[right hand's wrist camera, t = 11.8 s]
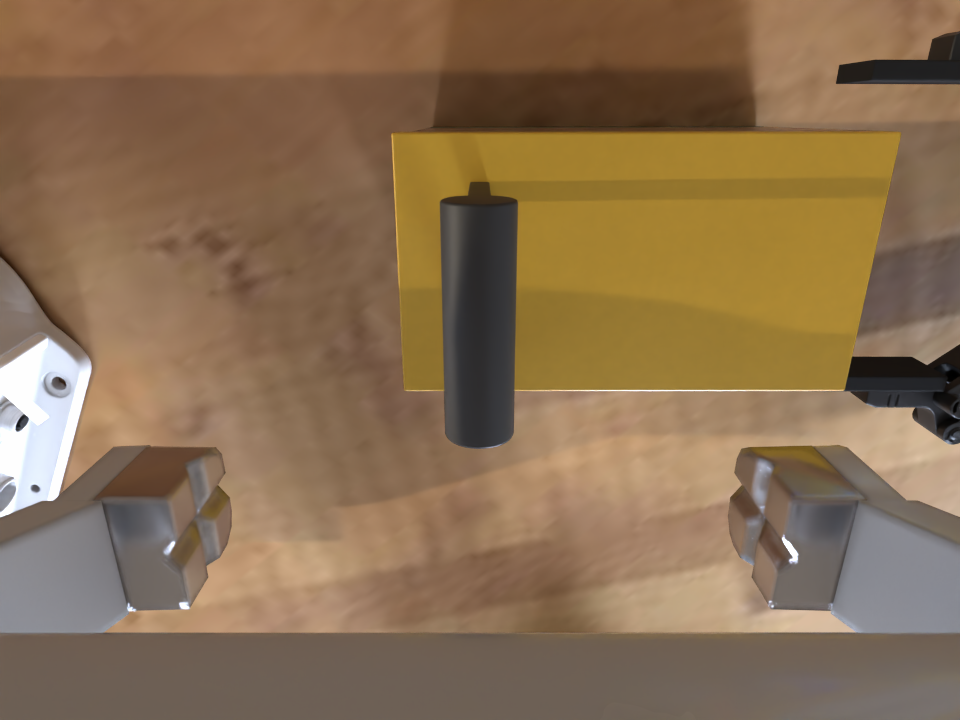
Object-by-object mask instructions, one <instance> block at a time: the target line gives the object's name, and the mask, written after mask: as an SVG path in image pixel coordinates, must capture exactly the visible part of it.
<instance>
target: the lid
mask: <svg viewBox="0 0 960 720" xmlns="http://www.w3.org/2000/svg"><path fill="white" fill-rule="evenodd" d="M391 136H392V156H393V177H394V198H395V218H396V239H397V259H398V280H399V301H400V321H401V342H402V362H403V383H404V390H405V391H444V404H445V434H446V436H447V438H448V439H449V440H450V441H451V442H453V443H454V444H457V445H459V446H462V447H467V448H474V449H484V448H492V447H496V446H499V445H502V444H504V443H506V442H507V441H509V440H510V439H511V437H512V436H513V433H514V391H844V390H845V386H846V381H847V377H848V372H849V368H850V363H851V359H852V354H853V350H854V345H855V341H856V336H857V332H858V327H859V323H860V318H861V313H862V309H863V304H864V300H865V295H866V291H867V286H868V282H869V277H870V273H871V268H872V264H873V259H874V255H875V250H876V246H877V241H878V237H879V232H880V228H881V223H882V219H883V214H884V210H885V205H886V201H887V196H888V192H889V187H890V183H891V178H892V174H893V169H894V165H895V160H896V155H897V151H898V146H899V142H900V137H901V132H894V131H611V132H394V133H392V135H391Z"/></svg>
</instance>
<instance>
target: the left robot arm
mask: <svg viewBox="0 0 960 720" xmlns="http://www.w3.org/2000/svg"><path fill="white" fill-rule="evenodd" d="M836 84H960V31H959V32H953V33H948V34H944V35H942V36H939V37H937V38H934V39H932V43H931V48H930V52H929V56H928V60H871V61H864V62H857V63H850V64H843V65H839V70H838V76H837V81H836ZM844 391H851V393H852V394H854V395H855V396H856V397H858V398H859V399H860V400H862V401H863V402H864V403H866V404H868V405H871V406H873V407H916V408H915V409H914V411H913V413H912V416H913V419H914V420H915V421H916V422H917V423H919V424H920V425H922V426H923V427H924V428H926V429H927V430H929V431H930V432H932V433H933V434H934V435H936V436H937V437H939V438H940V439H942V440H943V441H945V442H946V443H948V444H958V443H960V345H958V346H956V347H955V348H953V349H952V350H950V351H949V352H947V353H946V354H944V355H943V356H941V357H939V358H938V359H936V360H935V361H933V362H932V363H930V364H929V365H925V364H924V363H922V362H920V361H918V360H916V359H915V358H913V357H852V359H851V363H850V368H849V372H848V377H847V381H846V386H845V390H844Z"/></svg>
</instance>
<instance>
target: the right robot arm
mask: <svg viewBox="0 0 960 720" xmlns="http://www.w3.org/2000/svg"><path fill="white" fill-rule="evenodd" d="M91 368H92V367H91V361H90V359H89V357H88V355H87V354H86V352H85V351H84V350H83V349H82V348H81V347H80V346H79V345H78V344H77V343H76V342H75V341H74V340H72V339H71V338H70V337H69V336H68V335H66V334H65V333H64V332H63V331H61V330H60V329H59V328H58V327H56V326H55V325H54V324H53V323H52V322H51V321H50V320H49V319H48V317H47V316H46V315H45V313H44V312H43V311H42V309H41V307H40V306H39V304H38V303H37V301H36V300H35V298H34V296H33V295H32V293H31V292H30V290H29V289H28V287H27V286H26V285H25V283H24V282H23V281H22V279H21V278H20V277H19V276H18V274H17V273H16V272H15V271H14V270H13V269H12V268H11V267H10V266H9V265H8V264H7V263H6V262H5V261H4V260H3V259H2V258H1V257H0V720H960V517H958V516H955V515H953V514H950V513H948V512H945V511H942V510H940V509H937V508H935V507H932V506H930V505H927V504H925V503H922V502H920V501H907V500H906V499H905V498H903V497H902V496H901V495H900V494H899V493H898V492H897V491H896V490H894V489H893V488H892V487H891V486H890V485H889V484H888V483H887V482H885V481H884V480H883V479H882V478H881V477H880V476H879V475H878V474H876V473H875V472H874V471H873V470H872V469H871V468H870V467H869V466H867V465H866V464H865V463H864V462H863V461H862V460H861V459H860V458H858V457H857V456H856V455H855V454H854V453H853V452H852V451H851V450H849V449H848V448H847V447H843V446H840V445H831V446H783V447H748V448H743V449H741V451H740V453H739V455H738V457H737V461H736V467H735V472H734V473H735V474H736V476H737V478H738V479H739V481H740V482H741V484H742V486H741V487H740V488H739V489H738V490H737V491H736V492H735V493H734V494H733V495H732V496H731V497H730V504H729V512H728V522H729V532H730V536H731V539H732V542H733V546H734V548H735V549H736V551H737V553H738V555H739V556H740V558H742V559H744V560H745V561H747V562H749V563H750V564H752V565H753V566H754V567H753V573H752V578H753V580H754V582H755V583H756V585H757V587H758V588H759V590H760V592H761V593H762V595H763V597H764V598H765V600H766V602H767V603H768V605H769V607H770V608H771V609H785V610H822V611H831V614H832V615H834V616H835V617H836V618H838V619H839V620H841V621H842V622H843V623H845V624H846V625H847V626H849V627H850V628H851V629H853V630H854V631H855V632H857V633H103V632H105V631H106V630H107V629H109V628H110V627H112V626H113V625H114V624H116V623H117V622H118V621H120V620H121V619H122V618H124V617H125V616H126V615H128V614H129V611H138V610H174V609H190V607H191V605H192V604H193V602H194V600H195V599H196V597H197V595H198V594H199V592H200V590H201V589H202V587H203V585H204V584H205V582H206V580H207V578H208V573H207V567H206V566H207V565H208V564H210V563H212V562H213V561H215V560H216V559H218V558H220V556H221V555H222V553H223V551H224V549H225V547H226V546H227V543H228V539H229V535H230V531H231V527H232V510H231V503H230V497H229V496H228V495H227V494H226V493H225V492H224V491H223V490H222V489H221V488H220V487H219V486H218V484H219V482H220V481H221V479H222V478H223V476H224V474H225V473H226V472H225V467H224V463H223V458H222V454H221V453H220V451H219V450H218V449H217V448H216V447H179V446H150V445H141V446H118V447H113V448H112V449H111V450H110V451H109V452H107V453H106V454H105V455H104V456H103V457H102V458H101V459H100V460H98V461H97V462H96V463H95V464H94V465H93V466H92V467H91V468H89V469H88V470H87V471H86V472H85V473H84V474H83V475H81V476H80V477H79V478H78V479H77V480H76V481H75V482H74V483H72V484H71V485H70V486H69V487H68V488H67V489H66V490H65V491H63V492H62V493H61V494H60V495H59V491H60V488H61V484H62V480H63V476H64V472H65V469H66V465H67V461H68V457H69V454H70V450H71V446H72V442H73V438H74V435H75V431H76V427H77V423H78V420H79V416H80V412H81V408H82V404H83V401H84V397H85V393H86V389H87V386H88V382H89V378H90V374H91ZM59 377H61V378H62V379H64V380H65V382H66V385H64V384H62V383H61V381H60V380H59ZM58 495H59V496H58Z"/></svg>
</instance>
